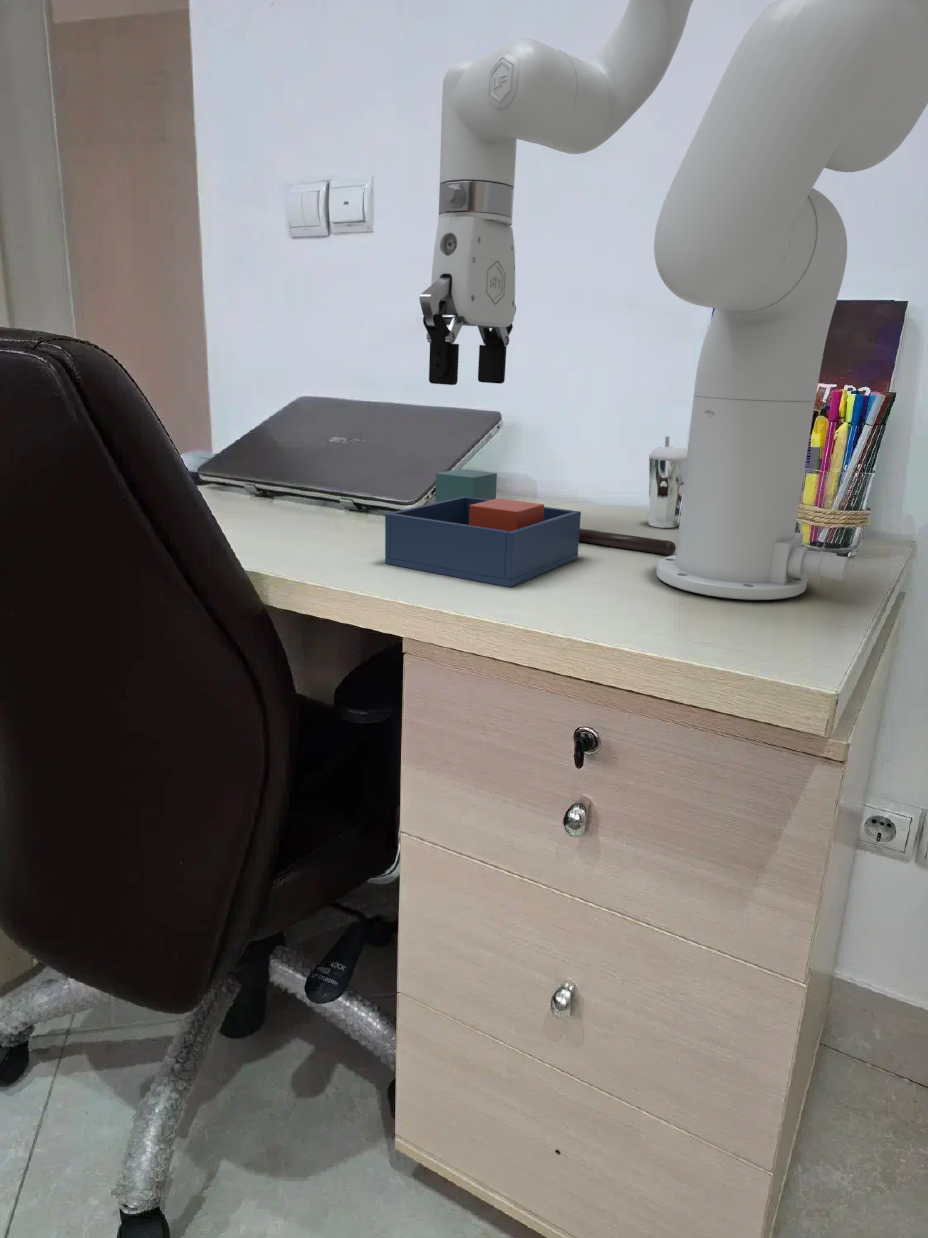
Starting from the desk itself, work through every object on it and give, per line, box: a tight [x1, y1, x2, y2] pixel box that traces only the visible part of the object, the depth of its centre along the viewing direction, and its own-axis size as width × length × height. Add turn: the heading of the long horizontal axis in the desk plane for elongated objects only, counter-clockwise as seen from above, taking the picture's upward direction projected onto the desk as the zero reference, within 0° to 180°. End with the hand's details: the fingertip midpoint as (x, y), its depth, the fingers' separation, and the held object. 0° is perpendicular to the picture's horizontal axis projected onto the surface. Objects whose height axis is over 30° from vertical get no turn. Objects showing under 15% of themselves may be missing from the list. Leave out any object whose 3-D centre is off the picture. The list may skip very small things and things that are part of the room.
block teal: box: [434, 468, 498, 503], centre depth 94 cm, size 5×5×5 cm
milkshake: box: [648, 436, 688, 529], centre depth 96 cm, size 5×5×10 cm
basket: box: [384, 496, 582, 588], centre depth 77 cm, size 13×13×5 cm
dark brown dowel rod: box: [579, 527, 677, 556], centre depth 89 cm, size 28×4×1 cm, turn 57°
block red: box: [469, 497, 545, 531], centre depth 76 cm, size 5×5×5 cm
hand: (468, 383), depth 89 cm, fingers open, 9 cm apart
